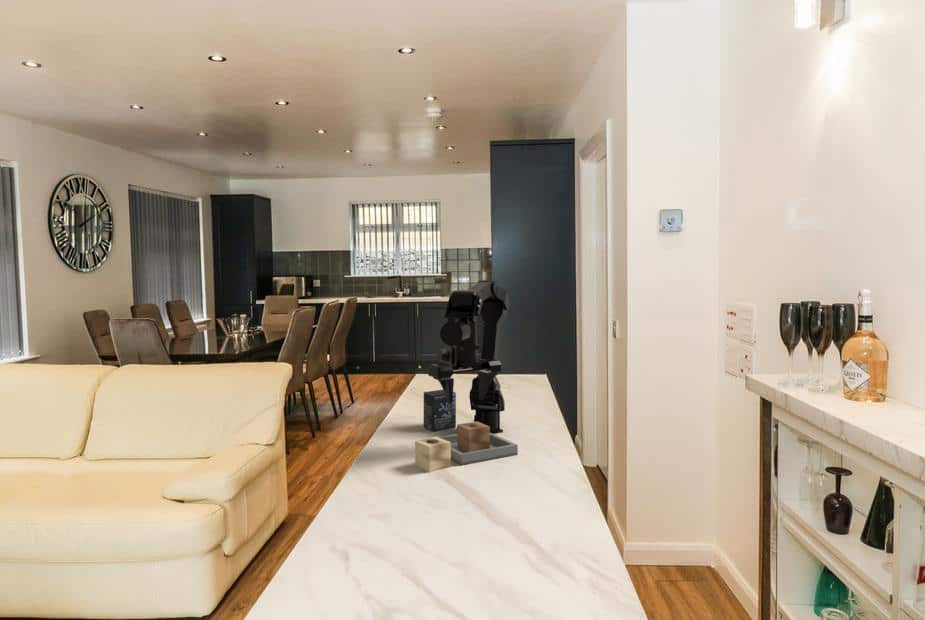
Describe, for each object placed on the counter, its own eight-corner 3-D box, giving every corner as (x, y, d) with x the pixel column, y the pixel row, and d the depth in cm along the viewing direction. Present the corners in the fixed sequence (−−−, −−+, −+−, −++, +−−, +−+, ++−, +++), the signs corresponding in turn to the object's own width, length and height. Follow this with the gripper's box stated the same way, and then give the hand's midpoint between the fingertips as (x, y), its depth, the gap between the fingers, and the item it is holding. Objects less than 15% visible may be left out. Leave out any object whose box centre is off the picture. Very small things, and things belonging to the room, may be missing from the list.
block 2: (477, 444, 164) (477, 421, 163) (489, 450, 159) (489, 426, 158) (457, 447, 161) (457, 424, 161) (469, 454, 156) (469, 429, 155)
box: (433, 432, 178) (432, 395, 177) (423, 427, 182) (422, 391, 182) (456, 428, 182) (456, 391, 181) (446, 423, 187) (446, 388, 186)
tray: (483, 438, 171) (483, 429, 171) (517, 454, 157) (517, 444, 157) (430, 447, 163) (430, 438, 163) (461, 465, 149) (461, 455, 149)
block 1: (436, 460, 153) (435, 436, 152) (450, 467, 148) (450, 441, 148) (415, 465, 149) (415, 440, 149) (429, 472, 145) (429, 446, 144)
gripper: (479, 334, 170) (479, 392, 172) (417, 339, 161) (418, 400, 162) (503, 339, 161) (503, 399, 162) (438, 344, 151) (439, 409, 153)
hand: (465, 401), depth 160 cm, fingers open, 9 cm apart
